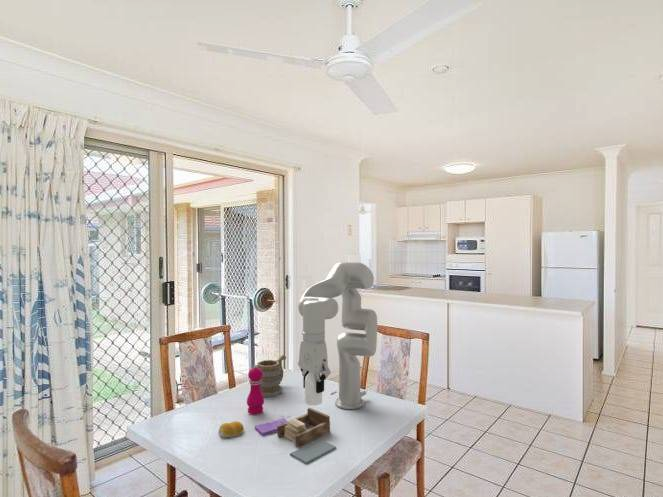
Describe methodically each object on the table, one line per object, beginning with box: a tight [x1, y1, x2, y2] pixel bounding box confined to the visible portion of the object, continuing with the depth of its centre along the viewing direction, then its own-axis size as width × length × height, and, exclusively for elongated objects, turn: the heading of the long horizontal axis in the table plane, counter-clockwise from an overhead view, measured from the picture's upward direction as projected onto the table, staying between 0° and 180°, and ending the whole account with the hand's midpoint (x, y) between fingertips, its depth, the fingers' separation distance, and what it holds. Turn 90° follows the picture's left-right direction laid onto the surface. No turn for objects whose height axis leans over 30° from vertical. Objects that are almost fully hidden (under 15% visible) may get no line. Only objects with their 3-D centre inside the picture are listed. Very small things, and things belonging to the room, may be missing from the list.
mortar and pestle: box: [256, 354, 287, 398], centre depth 193 cm, size 20×13×15 cm, turn 147°
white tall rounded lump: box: [304, 372, 323, 406], centre depth 135 cm, size 6×12×6 cm
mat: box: [289, 438, 337, 465], centre depth 136 cm, size 14×8×1 cm, turn 136°
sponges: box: [254, 417, 288, 437], centre depth 153 cm, size 7×13×2 cm, turn 122°
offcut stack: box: [284, 418, 307, 443], centre depth 145 cm, size 5×8×6 cm, turn 46°
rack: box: [276, 407, 331, 448], centre depth 148 cm, size 16×11×6 cm
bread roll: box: [218, 420, 244, 439], centre depth 149 cm, size 8×9×4 cm
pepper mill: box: [246, 364, 265, 416], centre depth 168 cm, size 7×7×20 cm
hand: (313, 389), depth 136 cm, fingers closed on white tall rounded lump, 5 cm apart
